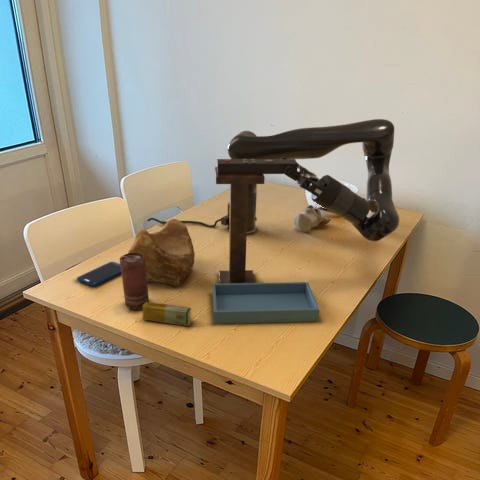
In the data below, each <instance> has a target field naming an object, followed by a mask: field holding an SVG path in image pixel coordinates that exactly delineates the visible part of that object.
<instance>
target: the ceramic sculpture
mask: <svg viewBox="0 0 480 480" xmlns="http://www.w3.org/2000/svg"><path fill="white" fill-rule="evenodd" d="M331 220H332V218H326V217H322V213H321V210H320V208H317V207H314V206H313V205H312V204H311V205H308V206H306V207H305V208H304V209H303V210H302V211H301V212H300V213H298V214H296V216H295V217H294V225H295V228H296V229H297V230H298V231H300V232H302V233H303V232H305V233H307V232H310V231H311V229H313V228H316V227H318V226H319V227H322V226H326V225H328V224H329V223H330V221H331Z"/></svg>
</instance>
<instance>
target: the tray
mask: <svg viewBox="0 0 480 480" xmlns="http://www.w3.org/2000/svg"><path fill="white" fill-rule="evenodd" d="M211 292H212V293H211V295H212V312H213V325H218V324H219V325H220V324H221V325H222V324H224V325H225V324H259V323H260V324H262V323H299V322H301V323H303V322H318V321H319V316H320V308H319V305H318V303H317V301H316V298H315V295H314V292H313V291H312V288H311V285H310V283H309V282H308V281H295V282H294V281H291V282H290V281H287V282H255V283H233V284H220V283H212V284H211Z"/></svg>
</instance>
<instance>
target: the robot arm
mask: <svg viewBox="0 0 480 480" xmlns="http://www.w3.org/2000/svg"><path fill="white" fill-rule="evenodd" d="M357 143H362V152H363V156H364V160H365V164H366V169H367V180H366V198H364V197H362V196H361V195H359V194H357V193H355V192H354V191H353V190H351V189H350V188H349V187H348V186H346V185H345V184H344V183H342V182H340V181H339V180H337V179H335V178H334V177H332V176H331V175H329V174H325V175H323V176H321V178H319V177H318V175H317V174H315V172H312V171H310V170H308V169H307V168H306V167H304V166H302V165H301V164H299V163H298V167H297V170H295V169H293V168H292V167H290V166H287V168H286V169H285V171H284V174H283V175H285V176H287V177H288V178H290V179H292V180H293V181H295V183H296V184H297V185H298V186H299V187H300V188H301V189H303V190H306V191H307V192H308V193H310V194H311V200H312V201H313V203H314V202H316V203H317V204H319V205H321V206H322V207H324V208H326V209H327V211H329V212H330V213H332V214H335V215H337V216H338V217H341V218H342V219H344V220H346V221H347V222H349V223H350V224H351V225H352V226H353V227H354V228H355V229H356V231H357V232H358V233H359V234H360V235H361V237H363V238H364V239H365V240H367V241H369V242H374V243H376V242H379V241H381V240H382V239H385V237H387V236H388V235H390V234H392V233H393V232H395V231H396V230H397V229H398V228H399V225H400V215H399V213H398V211H397V209H396V205H395V203H394V201H393V184H392V178H391V175H390V162H391V156H392V152H393V149H394V143H395V125H394V123H393V122H392V121H390V120H388V119H383V118H374V119H368V120H362V121H357V122H352V123H346V124H338V125H337V124H336V125H328V126H314V127H313V126H312V127H301V128H295V129H290V130H287V131H283V132H280V133H277V134H272V135H264V136H262V135H261V136H260V135H259V136H258V135H257V134H255V132H253V131H250V130H242V131H240V132H238V133H237V134H236V135H235V136H233V138H232V139H230V141H229V142H228V146H227V155H228V157H229V159H295V160H311V159H320V158H322V157H325V156H327V155H329V154H330V153H332V152H334V151H335V150H337V149H339V148H341V147H343V146H346V145H351V144H357ZM257 196H258V184H248V206H247V235H249V234H252V233H255V232H256V230H257V229H256V228H257V226H256V222H257V221H258V219H257V218H258V217H257V201H258V200H257V198H258V197H257ZM363 198H364V199H363ZM317 204H316V205H317ZM369 210H370V211H371V212H373V213H374V214H373V215H372V216H370V217H367V215H368V213H369ZM229 212H230V201H229V202H228V203H227V214H226V215H224V216H222V217H220V218H219V219H217V220H215V222H214V224H207V223H204V222H202V221H196V220H180V221H181V222H182V223H183V224H197V225H201V226H203V227H207V228H215V227H216V226H217V224H218V223H219V222H220V225H222V226H226V227H227V230H229ZM150 221H155V222H157V223H160V224H166V222H167V221H168V220H165V221H163V220H159V219H157V218H155V217H150V218H148V219H147V220H146V222H150Z"/></svg>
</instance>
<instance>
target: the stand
mask: <svg viewBox="0 0 480 480" xmlns="http://www.w3.org/2000/svg"><path fill="white" fill-rule="evenodd" d="M214 178H215V184H216V185H229V202H230V212H229V229H228V270H218V280H219V284H233V283H256V280H255V276H254V271H253V269H247V266H246V265H247V238H248V237H247V235H248V234H247V206H248V184H257V185H265V178H266V177H265V174H218V172H217V166H214ZM246 269H247V270H246Z"/></svg>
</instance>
